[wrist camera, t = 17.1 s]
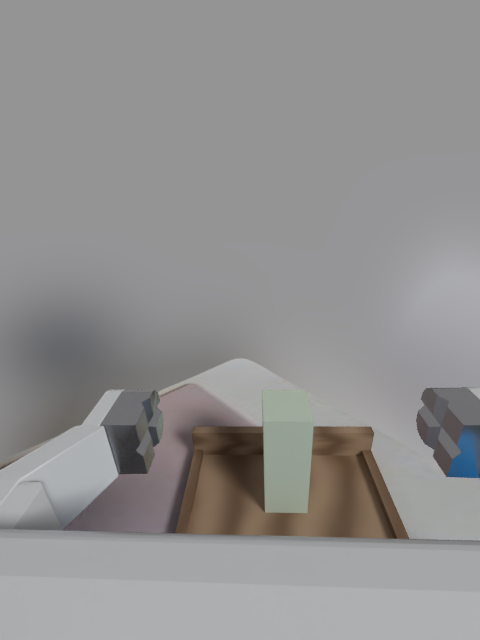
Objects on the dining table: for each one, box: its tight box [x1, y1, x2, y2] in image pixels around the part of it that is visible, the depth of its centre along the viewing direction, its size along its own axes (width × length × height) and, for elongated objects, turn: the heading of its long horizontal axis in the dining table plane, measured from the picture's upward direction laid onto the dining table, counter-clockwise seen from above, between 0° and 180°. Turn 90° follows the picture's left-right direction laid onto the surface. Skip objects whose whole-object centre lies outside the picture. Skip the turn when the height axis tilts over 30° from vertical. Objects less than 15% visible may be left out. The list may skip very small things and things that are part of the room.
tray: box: [175, 427, 409, 539], centre depth 37 cm, size 25×14×5 cm, turn 87°
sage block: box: [262, 390, 314, 513], centre depth 35 cm, size 5×5×14 cm
